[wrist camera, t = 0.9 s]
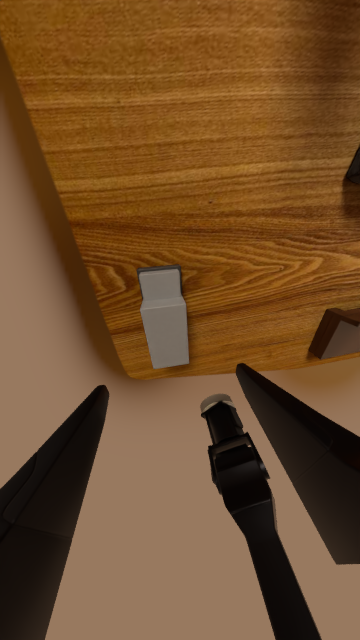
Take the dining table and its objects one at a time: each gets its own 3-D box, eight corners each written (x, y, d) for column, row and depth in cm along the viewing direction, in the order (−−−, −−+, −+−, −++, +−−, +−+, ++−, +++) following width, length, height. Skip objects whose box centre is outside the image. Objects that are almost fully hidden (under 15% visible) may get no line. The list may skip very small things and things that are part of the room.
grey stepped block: (184, 344, 22) (191, 369, 17) (154, 348, 22) (153, 375, 17) (178, 264, 16) (187, 271, 12) (138, 267, 16) (129, 276, 11)
